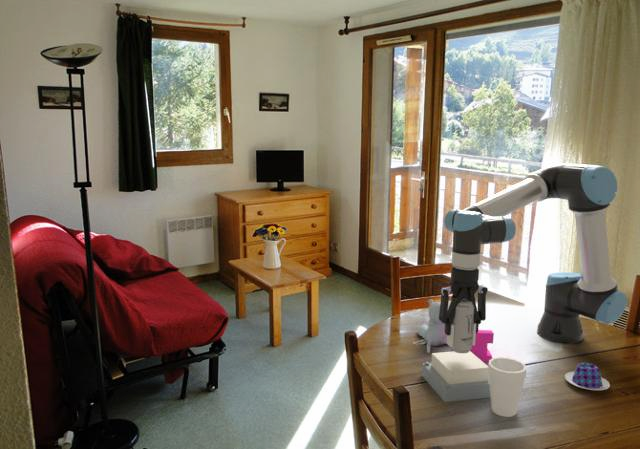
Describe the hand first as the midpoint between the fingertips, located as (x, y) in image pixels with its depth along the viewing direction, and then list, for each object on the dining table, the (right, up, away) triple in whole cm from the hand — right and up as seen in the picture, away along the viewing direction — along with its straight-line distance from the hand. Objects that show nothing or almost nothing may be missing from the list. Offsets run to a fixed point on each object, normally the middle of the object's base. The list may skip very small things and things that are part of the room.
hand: (460, 344), depth 149 cm
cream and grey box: (0, -13, +2) cm, 13 cm away
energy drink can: (0, -2, 0) cm, 2 cm away
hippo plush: (0, -7, +35) cm, 35 cm away
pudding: (+39, -13, +5) cm, 42 cm away
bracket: (+10, -9, +24) cm, 28 cm away
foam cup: (+9, -15, -11) cm, 21 cm away
